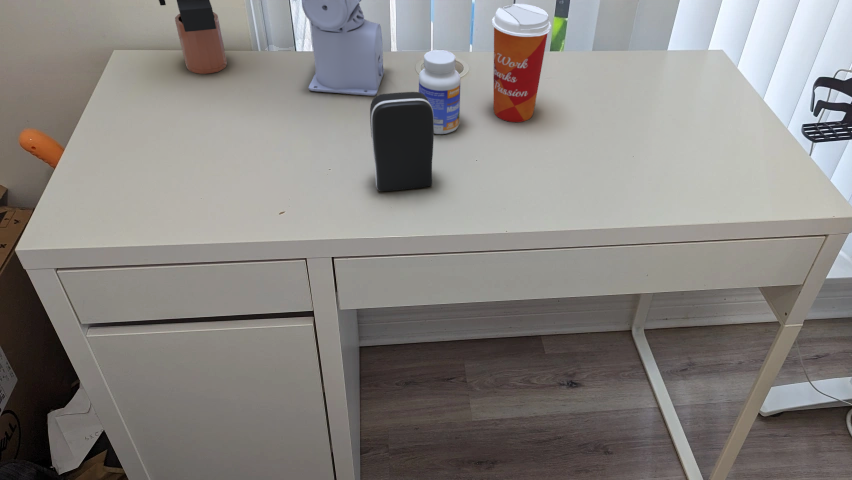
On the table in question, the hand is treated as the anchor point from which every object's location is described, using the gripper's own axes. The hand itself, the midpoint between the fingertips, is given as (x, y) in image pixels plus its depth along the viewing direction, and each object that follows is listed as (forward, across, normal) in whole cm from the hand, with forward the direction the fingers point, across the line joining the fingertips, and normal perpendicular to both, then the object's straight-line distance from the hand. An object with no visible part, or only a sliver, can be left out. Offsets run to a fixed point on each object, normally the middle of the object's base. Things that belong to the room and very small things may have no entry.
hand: (192, 0), depth 99 cm
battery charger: (+10, +18, -37) cm, 42 cm away
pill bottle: (+10, +26, -26) cm, 38 cm away
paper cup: (+10, +38, -25) cm, 46 cm away
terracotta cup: (+9, 0, 0) cm, 9 cm away
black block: (+2, 0, 0) cm, 2 cm away
